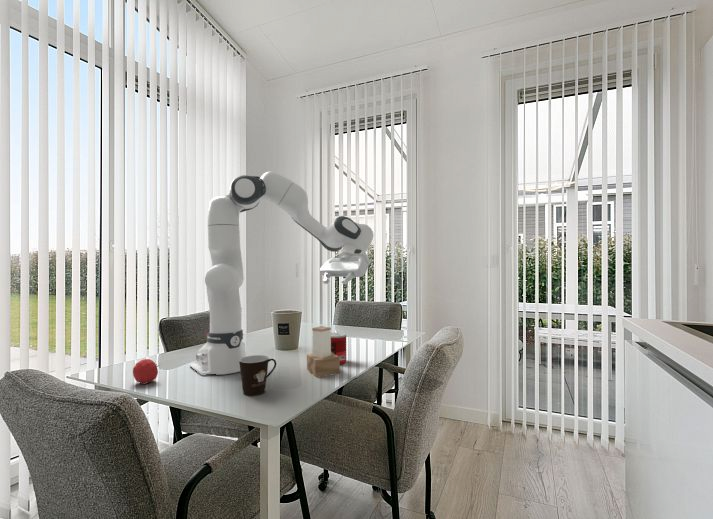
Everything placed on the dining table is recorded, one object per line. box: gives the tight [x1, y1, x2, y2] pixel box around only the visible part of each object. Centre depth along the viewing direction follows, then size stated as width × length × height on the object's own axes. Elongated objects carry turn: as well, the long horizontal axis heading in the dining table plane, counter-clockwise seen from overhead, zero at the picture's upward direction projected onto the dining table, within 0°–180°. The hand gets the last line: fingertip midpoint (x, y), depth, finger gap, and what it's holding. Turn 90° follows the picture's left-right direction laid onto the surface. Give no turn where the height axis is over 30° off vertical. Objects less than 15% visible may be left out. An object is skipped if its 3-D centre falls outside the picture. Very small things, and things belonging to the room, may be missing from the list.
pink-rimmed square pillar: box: [311, 325, 332, 358], centre depth 128 cm, size 5×5×10 cm
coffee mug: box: [239, 354, 277, 397], centre depth 109 cm, size 12×9×10 cm
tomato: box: [132, 358, 160, 384], centre depth 118 cm, size 8×8×8 cm
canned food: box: [331, 331, 347, 365], centre depth 140 cm, size 8×8×11 cm
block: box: [306, 352, 341, 378], centre depth 128 cm, size 9×9×6 cm
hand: (334, 283), depth 133 cm, fingers open, 8 cm apart
